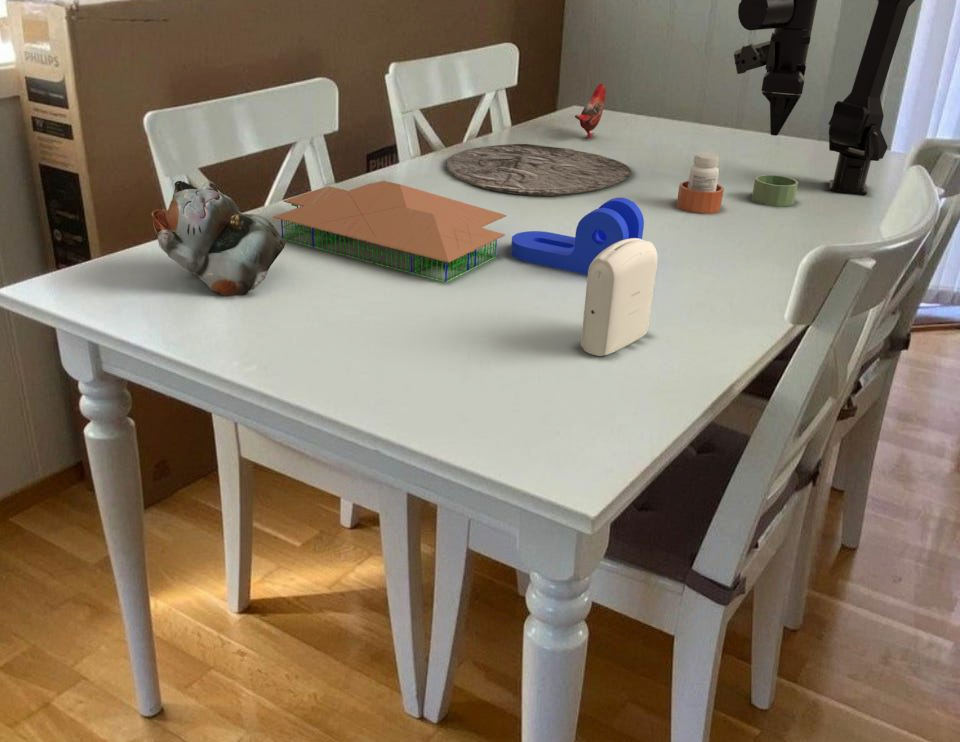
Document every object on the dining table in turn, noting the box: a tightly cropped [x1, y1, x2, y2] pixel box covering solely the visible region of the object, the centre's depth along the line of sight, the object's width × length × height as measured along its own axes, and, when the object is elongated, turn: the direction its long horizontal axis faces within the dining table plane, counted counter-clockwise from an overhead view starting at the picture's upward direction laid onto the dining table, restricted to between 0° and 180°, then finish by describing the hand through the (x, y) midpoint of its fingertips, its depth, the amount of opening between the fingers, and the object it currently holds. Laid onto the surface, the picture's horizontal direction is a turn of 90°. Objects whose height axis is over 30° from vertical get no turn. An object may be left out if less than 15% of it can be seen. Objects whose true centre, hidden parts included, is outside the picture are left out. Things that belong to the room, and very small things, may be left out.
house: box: [272, 180, 507, 283], centre depth 149 cm, size 23×33×8 cm
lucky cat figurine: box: [150, 180, 287, 297], centre depth 131 cm, size 15×12×14 cm
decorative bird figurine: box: [574, 83, 607, 140], centre depth 209 cm, size 3×18×10 cm, turn 156°
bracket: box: [510, 197, 645, 276], centre depth 145 cm, size 18×8×9 cm, turn 63°
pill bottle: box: [688, 151, 720, 192], centre depth 171 cm, size 5×5×8 cm
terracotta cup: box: [676, 180, 725, 214], centre depth 172 cm, size 7×7×4 cm
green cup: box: [751, 174, 799, 207], centre depth 178 cm, size 7×7×4 cm
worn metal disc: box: [445, 143, 632, 197], centre depth 189 cm, size 33×35×1 cm
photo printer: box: [580, 238, 659, 357], centre depth 119 cm, size 10×4×12 cm, turn 140°
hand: (775, 129), depth 170 cm, fingers open, 9 cm apart
